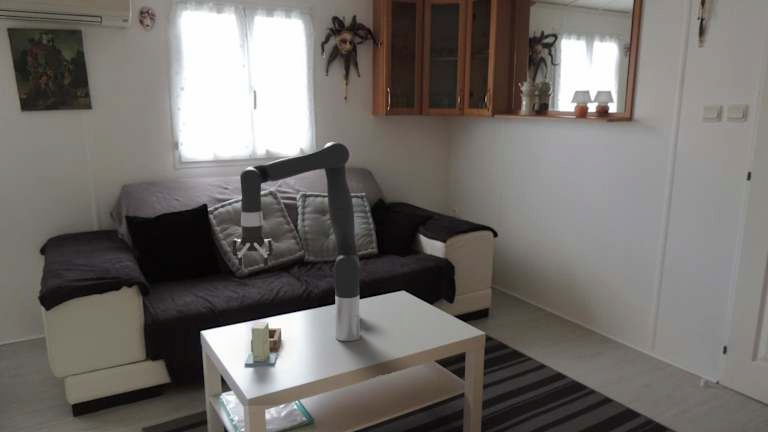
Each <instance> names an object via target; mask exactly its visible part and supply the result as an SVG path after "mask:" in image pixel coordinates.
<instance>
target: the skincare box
mask: <svg viewBox="0 0 768 432" xmlns="http://www.w3.org/2000/svg"><path fill="white" fill-rule="evenodd" d="M251 339H252V351H253V352H252V354H253V361H260V362H265V360H266V359H267V358H268V356H269V355H270V353H271V352H270V349H269V322H265V321H264V322H261V321H257V322H255V324H254V325H253V326H252V327H251Z"/></svg>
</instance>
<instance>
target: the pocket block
mask: <svg viewBox="0 0 768 432" xmlns="http://www.w3.org/2000/svg"><path fill="white" fill-rule="evenodd" d="M281 341H282V328H281V327H274V328H272V327H270V328H269V349H270V353H278V352H279V349H280V345H281ZM250 349H251V350H250V351H251V352H250V353H253V351H252V338H251V339H250Z"/></svg>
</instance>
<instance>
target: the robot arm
mask: <svg viewBox="0 0 768 432" xmlns="http://www.w3.org/2000/svg"><path fill="white" fill-rule="evenodd" d="M349 159H350V150H349V149H348V147H347V146H346V145H345V144H343V143H341V142H339V141H338V142H337V141H331V142H328V143H326V144H325V145H324V146H323V148H321V149H319V150H317V151H314V152H311V153H307V154H302V155H297V156H290V157H285V158H281V159H278V160H274V161H271V162H267V163H264V164H257V165H252V166H249V167H245V168H244V169H243V170H242V171H241V172H240V175H239V177H240V179H239V180H240V189H241V190H240V191H241V201H240V202H241V203H240V206H241V215H240V216H241V217H240V226H241V239H238V238H234V239H233V241H232V256H233V257H237V258H238V266H239V268H241V269H243V268H244V256H243V255H244V254H245V252H246V251H247V252H258V251H259V253H260V254H261V255H263V256H262V257H263V267H264V268H267V267H268V266H269V262H270V261H269V260H270V259H269V257H272V256H273V255H274V244H273V242H274V241H273V238H271V237H270V238H269V239H265V237H264V221H263V220H264V219H263V218H264V216H263V211H262V210H263V208H262V204H263V203H262V198H261V196H262V195H261V193H262V184H266V183H269V182H278V181H282V180H285V179H288V178H289V179H290V178H292V177H295V176H299V175H302V174H306V173H309V172H312V171H313V172H314V171H317V170H322V169H324V172H325V178H326V186H327V188H326V189H327V204H328V205H327V207H328V215H329V221H330V225H331V229H332V232H333V235H334V238H335V245H336V257H335V258H336V260H335V263H334V269H333V270H334V271H333V274H334V275H333V277H334V293H335V294H334V295H335V297H334V299H335V303H334V304H335V309H334V310H335V314H334V315H335V316H334V317H335V331H334V332H335V339H337V340H338V341H341V342H352V341H353V342H354V341H359V340H360V266H361V265H360V257H359V254H358V250H357V249H358V248H357V244H356V236H355V232H356V231H355V228H356V227H355V210H354V204H353V203H354V202H353V198H352V195H351V191H350V187H349V185H348V182H347V181H348V180H347V175H346V164H347V163H348V162H349ZM240 244H241V246H243V248H242V249H241V251H240V252H238V246H239V245H240ZM264 244H266V246H268V251H267V250H266V248H265V247H264Z"/></svg>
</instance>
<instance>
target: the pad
mask: <svg viewBox="0 0 768 432" xmlns="http://www.w3.org/2000/svg"><path fill="white" fill-rule="evenodd" d="M277 357H278V352H270V355H269V356H268V358H267V359H266V360H265V362H260V361H253V353H247V357H246V360H245V362H244V367H273V366H275V364H276V361H277Z"/></svg>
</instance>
